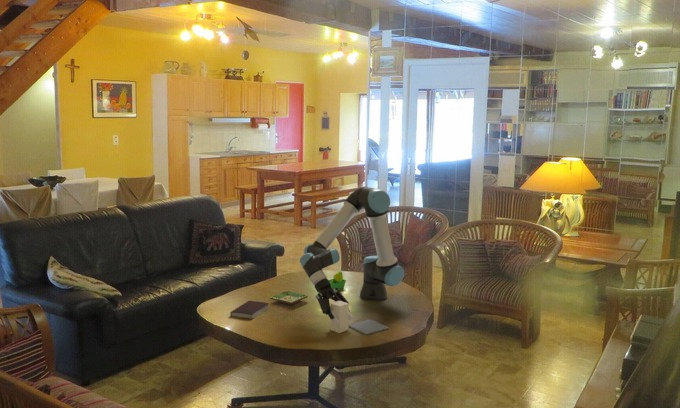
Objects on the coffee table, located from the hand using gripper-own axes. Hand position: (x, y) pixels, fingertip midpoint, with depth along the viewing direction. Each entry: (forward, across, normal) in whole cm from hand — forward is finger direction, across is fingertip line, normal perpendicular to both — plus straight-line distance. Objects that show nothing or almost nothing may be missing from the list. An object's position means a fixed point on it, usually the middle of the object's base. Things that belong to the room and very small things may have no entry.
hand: (344, 321), depth 277 cm
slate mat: (+7, -12, 0) cm, 14 cm away
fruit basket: (-30, -46, -38) cm, 66 cm away
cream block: (+1, 0, -6) cm, 6 cm away
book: (-34, +14, -41) cm, 55 cm away
